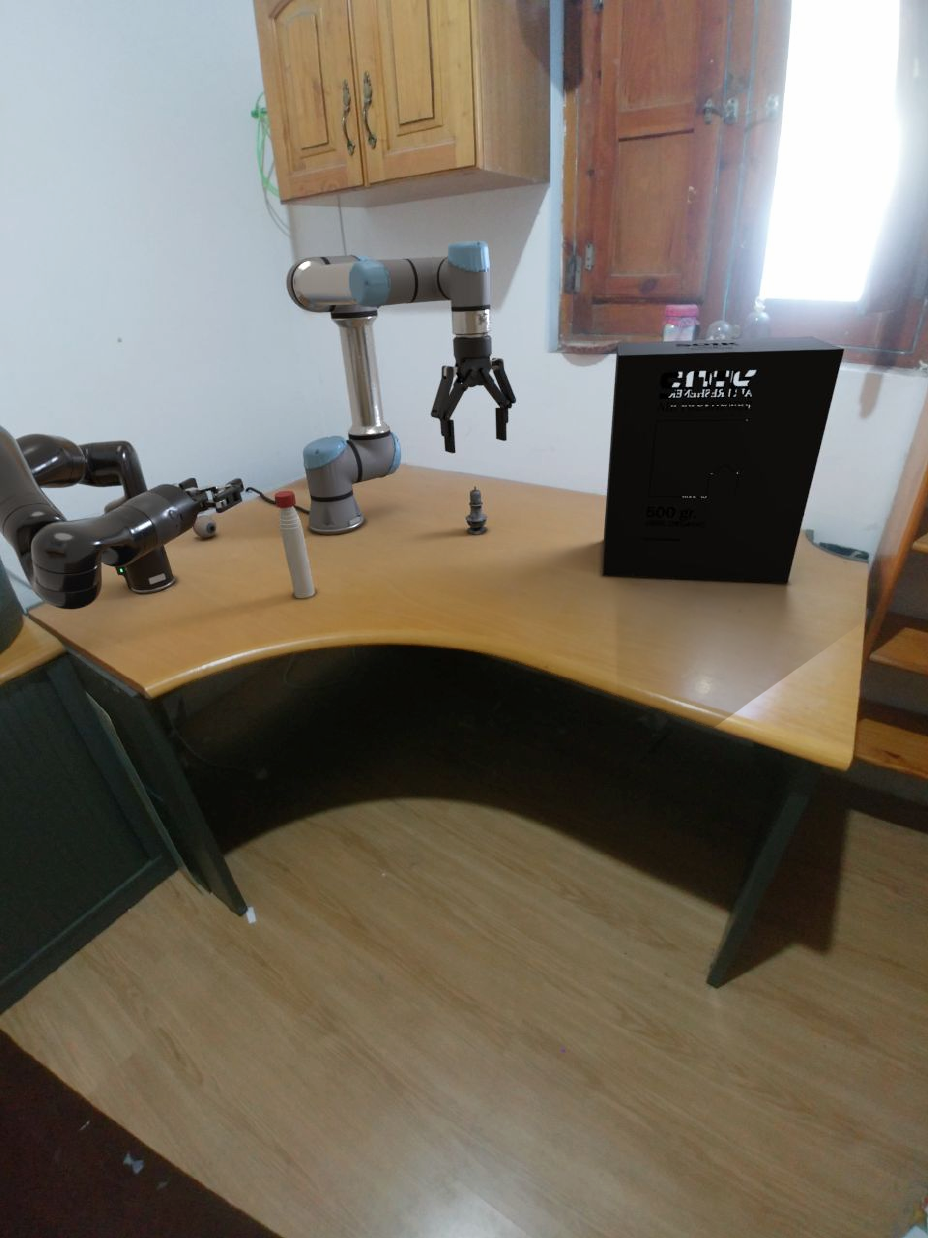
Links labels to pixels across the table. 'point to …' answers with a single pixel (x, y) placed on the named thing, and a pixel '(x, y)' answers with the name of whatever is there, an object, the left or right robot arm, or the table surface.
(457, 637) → the table surface
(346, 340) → the right robot arm
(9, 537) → the left robot arm
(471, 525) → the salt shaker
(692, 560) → the cardboard box
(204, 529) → the eyeball
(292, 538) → the bottle
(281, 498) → the cap
